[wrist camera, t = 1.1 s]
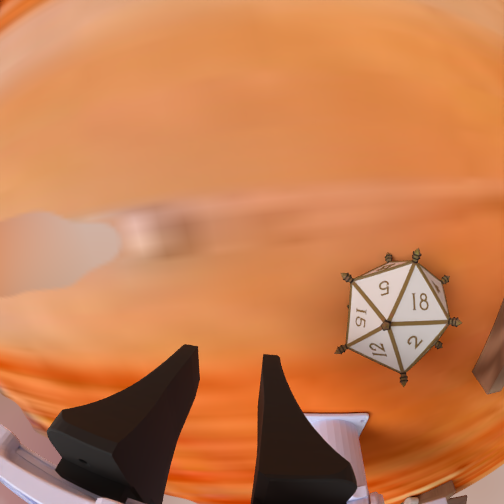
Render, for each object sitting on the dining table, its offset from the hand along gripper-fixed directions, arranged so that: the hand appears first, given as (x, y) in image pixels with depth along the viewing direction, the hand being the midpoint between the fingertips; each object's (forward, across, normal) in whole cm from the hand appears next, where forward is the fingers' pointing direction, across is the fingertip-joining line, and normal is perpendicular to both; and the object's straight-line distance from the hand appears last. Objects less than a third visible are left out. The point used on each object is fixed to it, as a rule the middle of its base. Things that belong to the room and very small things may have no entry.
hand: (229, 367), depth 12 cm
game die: (+10, -10, 0) cm, 14 cm away
